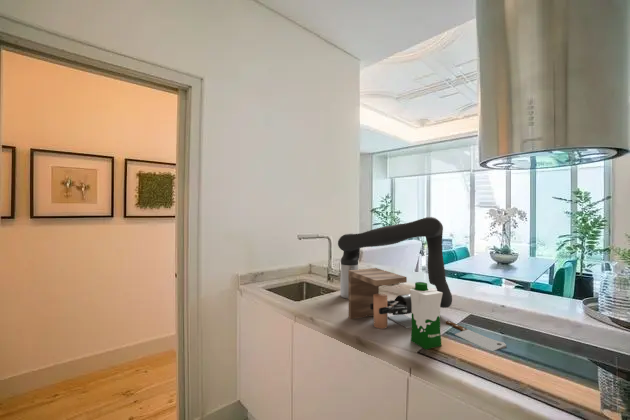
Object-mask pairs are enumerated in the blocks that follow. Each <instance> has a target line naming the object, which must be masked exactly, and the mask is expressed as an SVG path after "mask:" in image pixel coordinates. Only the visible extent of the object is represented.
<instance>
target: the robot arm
mask: <svg viewBox="0 0 630 420" xmlns="http://www.w3.org/2000/svg"><path fill="white" fill-rule="evenodd" d="M443 233H444V225H443V223H442V222H441V221H440V220H439V219H438V218H436V217H433V216H427V217H423V218H419V219H417V220H414V221H410V222H405V223H397V224H392V225H386V226H381V227H380V226H379V227H377V228H374V229H370V230H367V231H365V232H361V233H345V234H343V235H342V236H339V238H338V241H337V247H338V248H339V250H341V251H343V254H342V257H341V258H340V278H339V281H340V285H339V286H340V290H339V291H340V292H339V293H340V297H341V298H343V299H348V270H359V260H360V254H361V253H360V250H361V249H362V248H370V247H371V248H372V247H384V246H390V245H394V244H395V245H396V244H399V243H401V242H403V241H406V240H408V239H412V238H422V237H423V238H424V237H425V239H426V242H427V243H426V245H427V274H428V275H427V276H428V282H429V284H431V285H433V286H434V287H435V288H436V289H435V290H437V291H439V292H442V293H443V294H442V299H441V304H440V309H441V308H443V309H446V308H449V307H451V305H452V304H453V296H452V292H451V290H450V287H449V285H448V282H447V279H446V278H447V277H446V271H445V263H444V262H445V261H444V257H443V256H444V255H443ZM370 309H372V310H373V303H372V304H370ZM386 313H388V314H389V315H391V314H392V316H395V315H402V314H403V315H409V314H412V302H411V296H410V293H407V294H406V293H405V294H400V295H397V296H396V297H395V299H387V307H383V308H379V314H386Z"/></svg>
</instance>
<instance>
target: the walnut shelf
mask: <svg viewBox="0 0 630 420" xmlns="http://www.w3.org/2000/svg"><path fill="white" fill-rule="evenodd" d="M407 278H408V277H407V276H404V275H402V274H397V273H394V272H390V271H387V270H384V269H381V268H378V267H373V268H372V267H371V268H361V269H359V268H358V270H348V318H349V319H350V320H354V319H360V318H365V317H366V318H367V317H374V312H373V310H372V309H370V304H372V303H373V295H374V294H378V293H380V292H379V291H380V287H379V286H387V285H395V284H397V285H398V284H404V283H407Z"/></svg>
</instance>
